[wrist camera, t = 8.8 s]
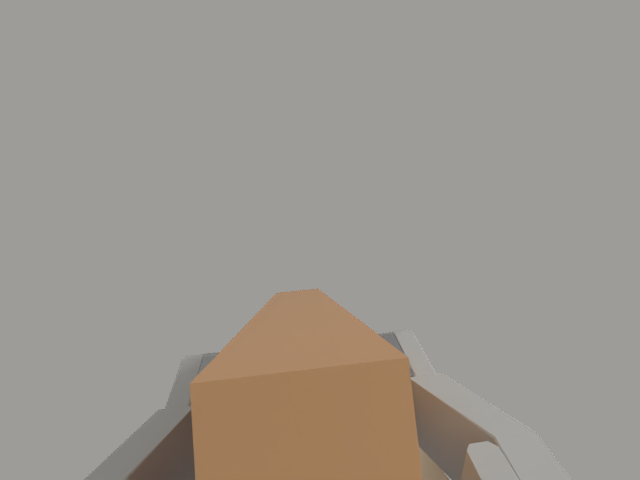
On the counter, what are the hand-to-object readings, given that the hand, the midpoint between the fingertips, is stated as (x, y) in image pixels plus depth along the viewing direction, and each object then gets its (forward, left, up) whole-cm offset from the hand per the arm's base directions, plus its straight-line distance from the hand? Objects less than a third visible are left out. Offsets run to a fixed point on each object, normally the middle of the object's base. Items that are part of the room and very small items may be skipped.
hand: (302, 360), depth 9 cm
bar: (0, +5, -2) cm, 6 cm away
